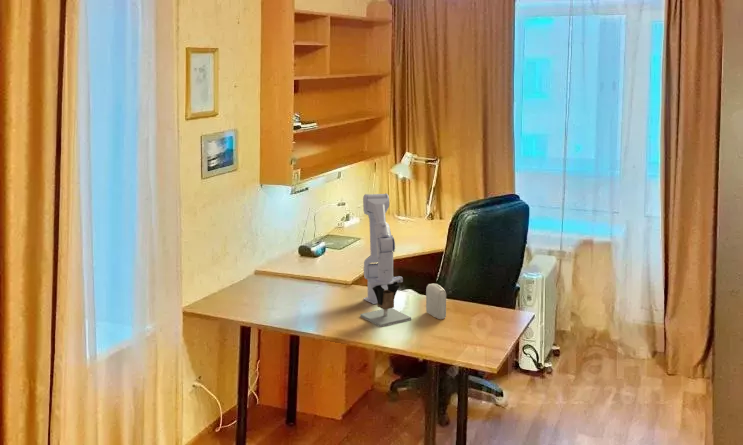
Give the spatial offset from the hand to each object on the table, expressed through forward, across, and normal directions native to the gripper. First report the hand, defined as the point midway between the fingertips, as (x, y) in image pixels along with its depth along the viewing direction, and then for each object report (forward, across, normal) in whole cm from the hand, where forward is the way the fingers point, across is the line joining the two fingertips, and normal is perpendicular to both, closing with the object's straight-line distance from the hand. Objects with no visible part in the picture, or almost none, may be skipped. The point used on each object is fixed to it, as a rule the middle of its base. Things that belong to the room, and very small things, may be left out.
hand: (385, 302), depth 321 cm
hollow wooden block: (+2, 0, 0) cm, 2 cm away
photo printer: (+6, +18, -8) cm, 21 cm away
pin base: (+6, 0, 0) cm, 6 cm away
